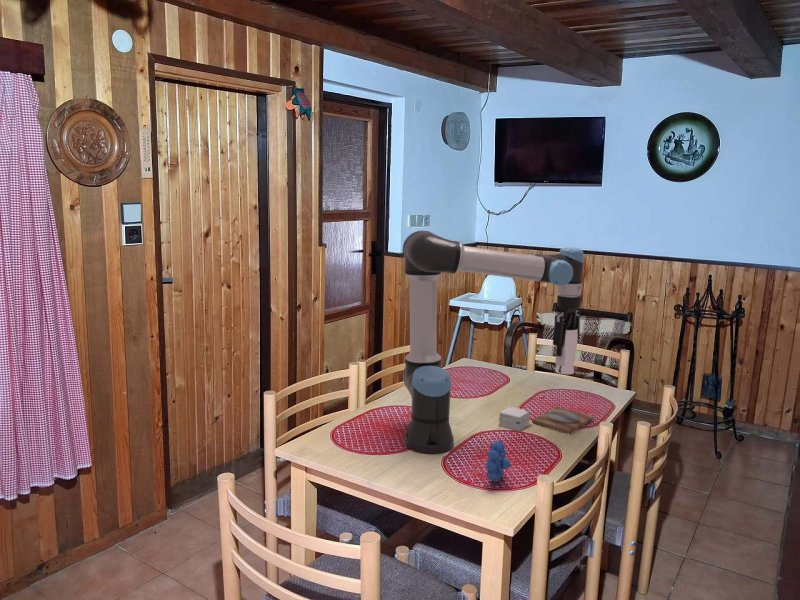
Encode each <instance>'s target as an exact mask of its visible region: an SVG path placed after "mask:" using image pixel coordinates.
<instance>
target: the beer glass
mask: <svg viewBox="0 0 800 600" xmlns="http://www.w3.org/2000/svg"><path fill="white" fill-rule="evenodd" d="M577 340H579V339H578V333H577V328H576V327H574V330H566V336H565V342H564V347H565V357H564V366H559V365H555V371H554V372H556V373H558V374H561V375H573V374H574V373H575V369H574V362H575V361H574V356H575V357H576V352H577V348H578V347H577V346H578V343H577ZM573 361H574V362H573Z"/></svg>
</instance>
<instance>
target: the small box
mask: <svg viewBox="0 0 800 600" xmlns="http://www.w3.org/2000/svg"><path fill="white" fill-rule="evenodd" d="M530 416H531V411H530V410H525V409H522V408H518V407H513V406H508V407H507V408H505V409H503V410H500V412H499V417H498V418H499V420H498V426H500V427H502V428H507V429H509V428H510V429H511V430H513V429H514V431H516V430H518V431H517V432H520V431H521V430H523V429H525V428H526V427H528V426H529V425H530V418H531V417H530Z"/></svg>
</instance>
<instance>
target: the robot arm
mask: <svg viewBox="0 0 800 600" xmlns="http://www.w3.org/2000/svg"><path fill="white" fill-rule="evenodd" d="M402 255H403V258H404V275H405V276H406V277H407V278H408V279H409V353H408V354H406V355H405V358H404V359H405V361H404V362H405V364H404V365H405V367H404V370H403V374H402V375H403V376H402V377H403V383H404V386H405V387H406V389H407V391H408V392H409V395H410V396H411V414H410V415H411V416H410V417H411V419H410V422H409V424H408V428H407V429H406V433H405V435H404V445H405V447H407V448H408V449H410V450H412V451H414V452H418V453H422V454H440V453H446V452H448V451H451V450H452V449H453V448H454V445H455V439H454V436H453V432H452V427H451V424H450V410H451V409H450V408H451V407H450V405H451V390H452V389H451V388H452V380H451V378H452V376H451V374H450V373H449V371H448V370H447V369H445V368H442V356H441V355H440V354H439V353H438V352H437V337H438V335H437V323H438V322H437V316H438V315H437V310H438V309H437V307H438V306H437V301H438V300H437V297H438V296H437V295H438V294H437V292H438V291H437V290H438V289H437V288H438V287H437V286H438V284H437V283H438V282H437V280H438V279H439V277H440V276H441V275H442V274H444V273H446V274H453V275H454V274H455V275H456V274H458V272H465V273H472V274H478V275H479V274H480V275H488V276H496V277H502V278H509V279H510V278H511V279H519V280H526V281H532V282H533V281H534V282H541V283H548V284H552V285H555V286H557V292H556V293H557V294H558V295H557V296H556V299H557V300H556V306H557V307H558V308H559V310H560V311H559V314H555V316H554V330H553V338H552V345H553V346H555V364H554V365H555V366H557V365H559V366H564V357H565V347H564V342H565V336H566V330H574V327H576V328H577V333H578V340H577V344H578V343H579V342H580V331H581V329H580V328H581V327H580V326H581V325H580V324H581V320H580V319H581V314H582V313H581V312H582V311H581V310H577V309H580V308H581V303H582V298H581V295H582V290H583V286H582V284H583V270H584V262H585V261H584V250H583V249H581V248H577V247H561V248H560V249H559V253H557V254H542V253H541V254H538V253H537V254H536V253H533V254H523V253H517V252H510V251H509V252H508V251H501V250H496V249H487V248H481V247H474V246H466V245H463V244H462V243H461V241H455V240H451V239H447V238H443V237H441V236H439V235H438V234H435V233H433V232H431V231H429V230H416V231H413V232H412V233H410V234H409V235H408V236H407V237H406V238H405V240H404V242H403V244H402ZM575 357H576V355H575V356H574V361H573V363H575V360H576V359H575Z"/></svg>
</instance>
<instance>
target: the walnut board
mask: <svg viewBox="0 0 800 600" xmlns="http://www.w3.org/2000/svg"><path fill="white" fill-rule="evenodd" d="M594 419H595V418H594V415H589V414H586V413H583V412H579V411H574V410H571V409H567V408H563V407H560V406H556V407H554V408H552V409H549V410H548V411H546V412H544V413H541V414H540V415H538V416H536V417H534V418H532V419H531V424H532V423H533V425H535V426H539V425H540V427H544V428H546V427H548V428H547V429H550V428H551V429H550V430H553V429H554V431H557V430H558V431H557V432H560V431H561V433H564V432H565V434H567V433H569V434H568V435H571V434H573V433H575V432H576V430H577V431H579V430H580V429H581V427H582V426H583V427H585V426H586V425H585V424H587V423H588V422H590V421H592V420H593V421H594ZM593 421H592V422H593ZM590 423H591V422H590ZM588 424H589V423H588ZM588 424H587V425H588ZM584 425H585V426H584ZM583 427H582V428H583ZM579 428H580V429H579ZM574 431H575V432H574ZM572 432H573V433H572Z"/></svg>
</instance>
